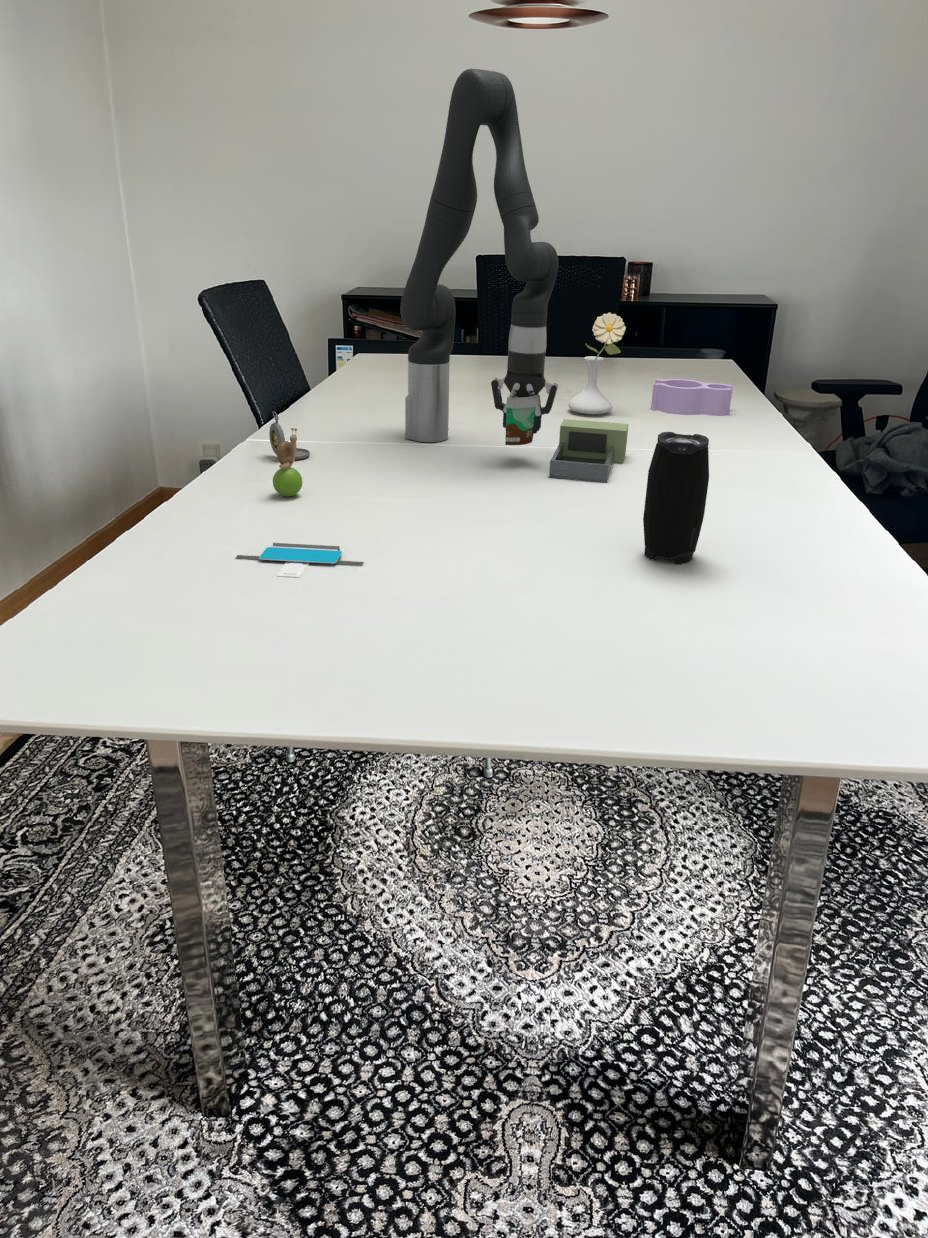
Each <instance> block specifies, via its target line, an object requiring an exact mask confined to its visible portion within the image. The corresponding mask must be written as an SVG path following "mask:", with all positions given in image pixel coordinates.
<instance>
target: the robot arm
mask: <svg viewBox="0 0 928 1238" xmlns="http://www.w3.org/2000/svg"><path fill="white" fill-rule="evenodd" d="M447 114H448V115H447V120H446V127H445V133H444V134H445V135H444V139H443V145H442V151H441V154H440V158H439V164H438V167H437V168H438V169H437V173H436V177H435V181H434V183H433V184H434V185H433V188H432V191H431V196H430V198H429V199H430V200H429V203H428V207H427V212H426V217H425V221H424V225H423V228H422V229H423V230H422V233H421V237H420V240H419V244H418V248H417V251H416V254H415V259H414V261H413V264H412V266H411V270H410V272H409V275H408V278H407V280H406V283H405V287H404V289H403V292H402V296H401V298H400V299H401V300H400V307H399V309H400V316H401V321H402V323H403V324H404V326H405V327H406V328H407V329H409V330H411V331H415V332H420V331H421V335H420V337H419V338H418V339H417V340H416V342H414V343H413V344H412V345H410V347H409V348H408V351H407V352H408V353H407V395H406V396H405V397H404V398H405V402H404V403H405V407H404V408H405V411H404V412H405V413H404V414H405V415H404V416H405V420H404V421H405V423H404V425H405V426H404V427H405V428H404V430H405V431H404V432H405V433H404V434H405V439H406V440H411V441H414V442H420V443H437V442H444V441H447V440H448V438H449V428H450V427H449V419H450V418H449V416H450V415H449V414H450V412H449V411H450V406H449V404H450V364H451V363H450V360H451V359H450V357H451V353H452V351H453V348H454V342H455V341H454V340H455V329H456V328H455V327H456V326H455V325H456V301H455V297H454V295H453V292H452V290H451V289H450V288H449V287H448V286H446V285H444V284H440V283H439V281H440V278H441V275H442V273H443V271H444V268H445V267H446V265H447V264H448V263H449V261H450V260H451V258H452V257H453V256H454V255H455V254H456V252H457V251H458V249H459V248H460V247H461V245H462V244H463V242H464V241H465V239H466V237H467V236H468V234H469V232H470V229H471V225H472V222H473V218H474V215H475V211H476V207H477V203H478V187H477V182H476V181H477V180H476V176H475V171H474V163H473V159H474V158H473V154H474V148H475V144H476V140H477V137H478V133H479V130H480V126H487V127H488V130H489V133H490V134H491V138H492V140H493V143H494V147H495V158H496V159H495V169H494V175H493V176H494V177H493V194H494V199H495V202H496V205H497V210H498V212H499V217H500V220H501V222H502V223H501V224H502V226H503V243H504V244H503V245H504V246H503V247H504V259H505V265H506V268H507V271H508V272H509V274H510V275H511V277H512V278H514V279H515V280H516V281H519V282H526V283H525V286H524V288H523V291H521V292H520V293H518V294H516V295H515V296H514V297H513V299H512V303H511V304H512V305H511V317H510V318H511V319H510V320H511V321H510V323H511V324H510V329H509V333H508V334H509V336H508V349H507V352H508V353H507V365H506V366H507V367H506V374H505V376H504V378H503V377H502V378H498V377H494V378H493V380H491V382H490V384H491V390H492V392H491V393H492V396H493V404H494V408H495V410H499V411H501V412H502V413H503V414H502V415H503V416H502V427H503V428H504V429H506V413H507V408H506V404H507V401H506V402H505V403H504V402H503V397H502V389H503V387H504V385H505V386H506V388H507V389H508V391H509V396H508V397H516V396H518V397H531V396H535V395H537V394H538V393H540V392H541V391H542V390H543V389H544V388H545V392H546V394H547V396H548V397H547V398H546V402H545V405H544V406H542V403H541V404H540V405H538V406H536V409H535V418H534V425H533V433H534V434H535V435H536V434H537V433H538V432H539V431H540V429H541V427H542V416H543V415H548V414H549V413H550V412H551V410H552V408H553V404H554V402H555V399H556V395H557V391H558V389H559V384H558V383H550V382H548V381H547V380H546V378H545V367H546V366H545V364H546V353H547V352H546V351H547V350H546V349H547V346H548V344H547V319H548V305H549V301H550V299H551V296H552V292H553V289H554V286H555V283H556V279H557V276H558V273H559V257H558V253H557V251H556V248H555V247H554V246H553V245H552V243H549V242H546V241H532V238H531V237H532V236H531V231H532V230H534V229H535V228H536V227H538V224H539V219H540V218H539V217H540V216H539V213H538V210H537V206H536V202H535V198H534V195H533V192H532V188H531V185H530V181H529V178H528V172H527V168H526V163H525V158H524V157H525V156H524V152H523V144H522V136H521V129H520V121H519V116H518V115H519V114H518V106H517V100H516V95H515V91H514V88H513V83H512V81H510V79H509V78H508V76H506V75H505V74H504V73H502V72H499V71H494V70H485V69H480V68H468V69H465V70H464V71H462V72H461V73H460V75H459V76H457V78H456V80H455V83H454V84H453V88H452V92H451V94H450V101H449V107H448V112H447ZM534 434H533V435H534Z"/></svg>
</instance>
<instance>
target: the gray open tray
mask: <svg viewBox="0 0 928 1238" xmlns="http://www.w3.org/2000/svg"><path fill="white" fill-rule="evenodd" d="M563 447H564V442H560V443H559V442H558V445H557V448H555V451H554V453H553V455H552V456H551V459H550V460H549V461H550V462H549V479H550V478H551V479H561V480H573V481H585V482H594V483H595V482H596V483H606V484H607V483H608V480H609V477H610V474H611V470H612V468H613V464H614V463H613V457H614V447H615V446H611V447H610V450H609V453H608V456H607V459H606V460H604V459H592V458H580V457H568V456H563Z"/></svg>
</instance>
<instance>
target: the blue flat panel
mask: <svg viewBox="0 0 928 1238" xmlns="http://www.w3.org/2000/svg"><path fill="white" fill-rule="evenodd" d="M342 554H343V551H342V550H341V549H340V545H323V544H305V543H304V544H301V543H287V542H286V543H285V542H283V543H282V542H272V545H271V546H268V547H265V549H264V550H263V551H262V553H261V554H260V555H245V554H243V555H242V554H238V555H237V556H236V557H235V558H234V559H236V560H248V561H259V562H260V561H261V562H280V563H281V562H282V563H284V564H283V566H282V567H281V568H280V570H279V571H278V573H277V574H276V577H280V578H297V579H300V578H302V576H303V574H304V573H305V571H306V570H307V568H308V566H309V565H310V564H314V565H315V564H316V565H332V566H334V565H335V566H360V567H361V566H363V564H364V561H354V560H353V561H352V560H341V559H342V558H341V556H342Z"/></svg>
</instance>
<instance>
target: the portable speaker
mask: <svg viewBox="0 0 928 1238" xmlns="http://www.w3.org/2000/svg"><path fill="white" fill-rule="evenodd" d="M709 443H710V440H709V437H707V436H706V435H703V434H699V433H693V434H682V433H681V434H680V433H675V432H674V431H664V432H663V431H662V432H660V433H658V435H657V442H656V444H655V447H654V451H653V455H652V457H651V461H650V465H649V468H648V472H647V481H646V490H645V498H644V510H643V518H642V520H643V521H642V524H643V539H644V556H645V557H646V558H648V559H649V560H656V559H657V558H661V559H666V560H671V561H672V563H673V564H674V565H679V564H680V565H683V564H687V563H689V562H691V561H692V560H693V556H694V555H695V554H694V553H695V552H696V549H697V545H698V543H699V538H700V535H701V534H700V533H701V531H702V526H703V523H704V518H705V512H706V505H707V495H708V488H709V483H710V482H709V481H710V463H709V461H710V459H709V458H710V457H709V455H710V454H709V453H710V452H709Z"/></svg>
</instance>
